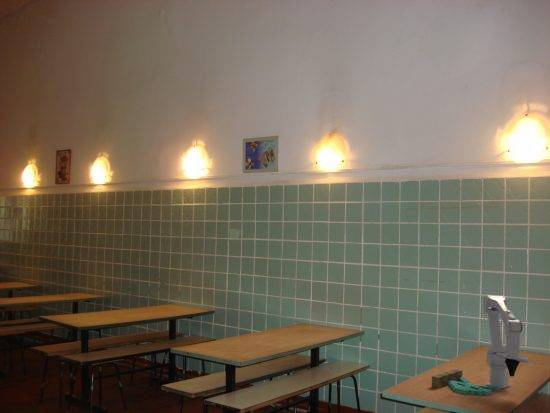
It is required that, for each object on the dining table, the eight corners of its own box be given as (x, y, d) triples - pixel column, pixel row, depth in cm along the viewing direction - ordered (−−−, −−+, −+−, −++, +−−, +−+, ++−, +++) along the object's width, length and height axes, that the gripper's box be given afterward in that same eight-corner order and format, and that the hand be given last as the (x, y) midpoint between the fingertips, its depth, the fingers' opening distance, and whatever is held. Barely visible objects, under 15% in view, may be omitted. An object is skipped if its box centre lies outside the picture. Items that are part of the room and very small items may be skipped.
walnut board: (456, 378, 282) (456, 368, 282) (462, 380, 280) (462, 370, 280) (431, 386, 265) (431, 376, 265) (437, 388, 263) (437, 377, 263)
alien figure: (460, 381, 279) (440, 388, 265) (460, 377, 279) (440, 383, 265) (499, 391, 264) (480, 399, 250) (500, 386, 264) (480, 394, 250)
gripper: (493, 344, 259) (492, 373, 258) (525, 350, 248) (524, 381, 248) (500, 342, 264) (499, 371, 263) (531, 348, 253) (530, 378, 253)
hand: (511, 375), depth 256 cm, fingers closed
